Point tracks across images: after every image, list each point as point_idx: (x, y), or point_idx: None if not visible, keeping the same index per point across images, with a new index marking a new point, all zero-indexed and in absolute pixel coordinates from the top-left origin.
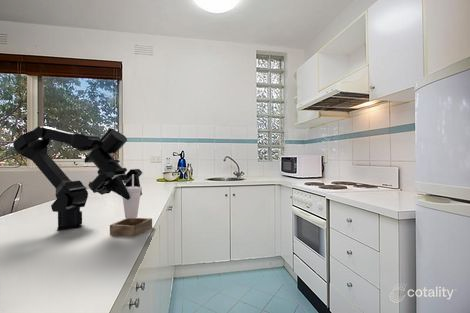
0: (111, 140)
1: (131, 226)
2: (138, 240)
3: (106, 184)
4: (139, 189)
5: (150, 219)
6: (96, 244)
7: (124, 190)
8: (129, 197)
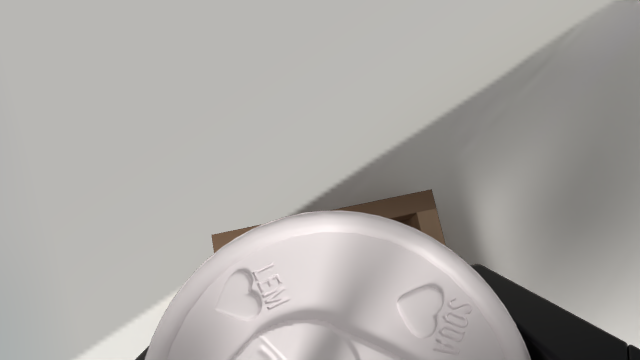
0: None
1: (440, 229)
2: (468, 133)
3: None
4: (310, 221)
5: (236, 230)
6: (636, 324)
7: (587, 332)
8: (481, 266)
